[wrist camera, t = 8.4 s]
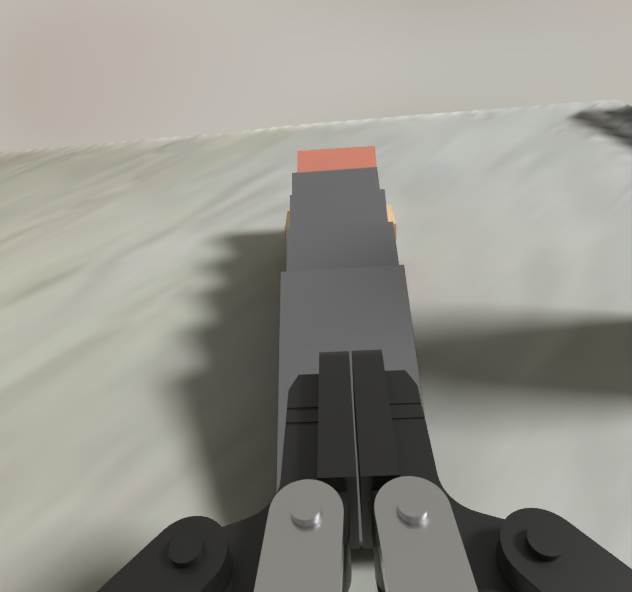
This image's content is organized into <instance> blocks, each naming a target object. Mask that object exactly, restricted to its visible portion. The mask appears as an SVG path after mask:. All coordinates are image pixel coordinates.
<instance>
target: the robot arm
mask: <svg viewBox="0 0 632 592" xmlns="http://www.w3.org/2000/svg"><path fill="white" fill-rule="evenodd" d="M352 374H353V397H354V416H355V432H356V448H357V463H358V478H359V494H360V509H361V524H362V540H363V549H372V548H373V553H374V565H375V588H376V592H632V569H631V568H629V567H628V566H627V565H625V564H624V563H623V562H621V561H620V560H619V559H617V558H616V557H615V556H613V555H612V554H611V553H609V552H608V551H607V550H605V549H604V548H603V547H601V546H600V545H599V544H597V543H596V542H595V541H593V540H592V539H591V538H589V537H588V536H587V535H585V534H584V533H583V532H581V531H580V530H579V529H577V528H576V527H575V526H573V525H572V524H570V523H569V522H568V521H566V520H565V519H563V518H562V517H560V516H558V515H556V514H554V513H552V512H549V511H547V510H543V509H538V508H524V509H520V510H517V511H515V512H513V513H511V514H510V515H509V516H508V517H507V518H506V519H501V518H497V517H494V516H490V515H486V514H483V513H479V512H476V511H473V510H470V509H468V508H466V507H464V506H462V505H461V504H459V503H457V502H456V501H455V500H454V499H452V498H451V497H450V496H449V495H448V494H447V492H446V491H445V490H444V488H443V487H442V485H441V483H440V481H439V478H438V475H437V471H436V466H435V462H434V457H433V453H432V448H431V444H430V439H429V435H428V430H427V426H426V421H425V417H424V412H423V408H422V405H421V399H420V394H419V390H418V385H417V384H416V383H415V381H414V380H413V379H412V378H411V376H410V375H409V374H408V373H407V372H406V370H391V371H385V368H384V361H383V355H382V350H381V349H378V350H356V351H352ZM350 549H360V541H359V518H358V494H357V473H356V457H355V440H354V424H353V408H352V392H351V375H350V359H349V351H337V352H319V374H302V375H298V376H297V378H296V379H295V381H294V382H293V384H292V386H291V387H290V389H289V390H288V401H287V412H286V426H285V434H284V446H283V457H282V468H281V479H280V485H279V488H278V491H277V493H276V495H275V497H274V498H273V500H272V501H271V503H270V504H269V505H268V506H267V507H266V508H265V509H263V510H262V511H261V512H259V513H258V514H256V515H254V516H252V517H250V518H247V519H245V520H242V521H239V522H236V523H233V524H231V525H228V526H225V527H221V526H220V525H219V524H218V523H217V522H216V521H214V520H213V519H210V518H208V517H203V516H192V517H187V518H183V519H180V520H178V521H176V522H174V523H173V524H171V525H169V526H168V527H167V528H166V529H164V530H163V531H162V532H161V533H160V534H159V535H158V536H157V537H156V538H154V539H153V540H152V541H151V542H150V543H149V544H148V545H147V546H146V547H145V548H144V549H143V550H141V551H140V552H139V553H138V554H137V555H136V556H135V557H134V558H133V559H132V560H131V561H130V562H128V563H127V564H126V565H125V566H124V567H123V568H122V569H121V570H120V571H119V572H118V573H116V574H115V575H114V576H113V577H112V578H111V579H110V580H109V581H108V582H107V583H106V584H105V585H103V586H102V587H101V588H100V589H99V590H98V591H97V592H349V588H350V584H351V552H350Z"/></svg>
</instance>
